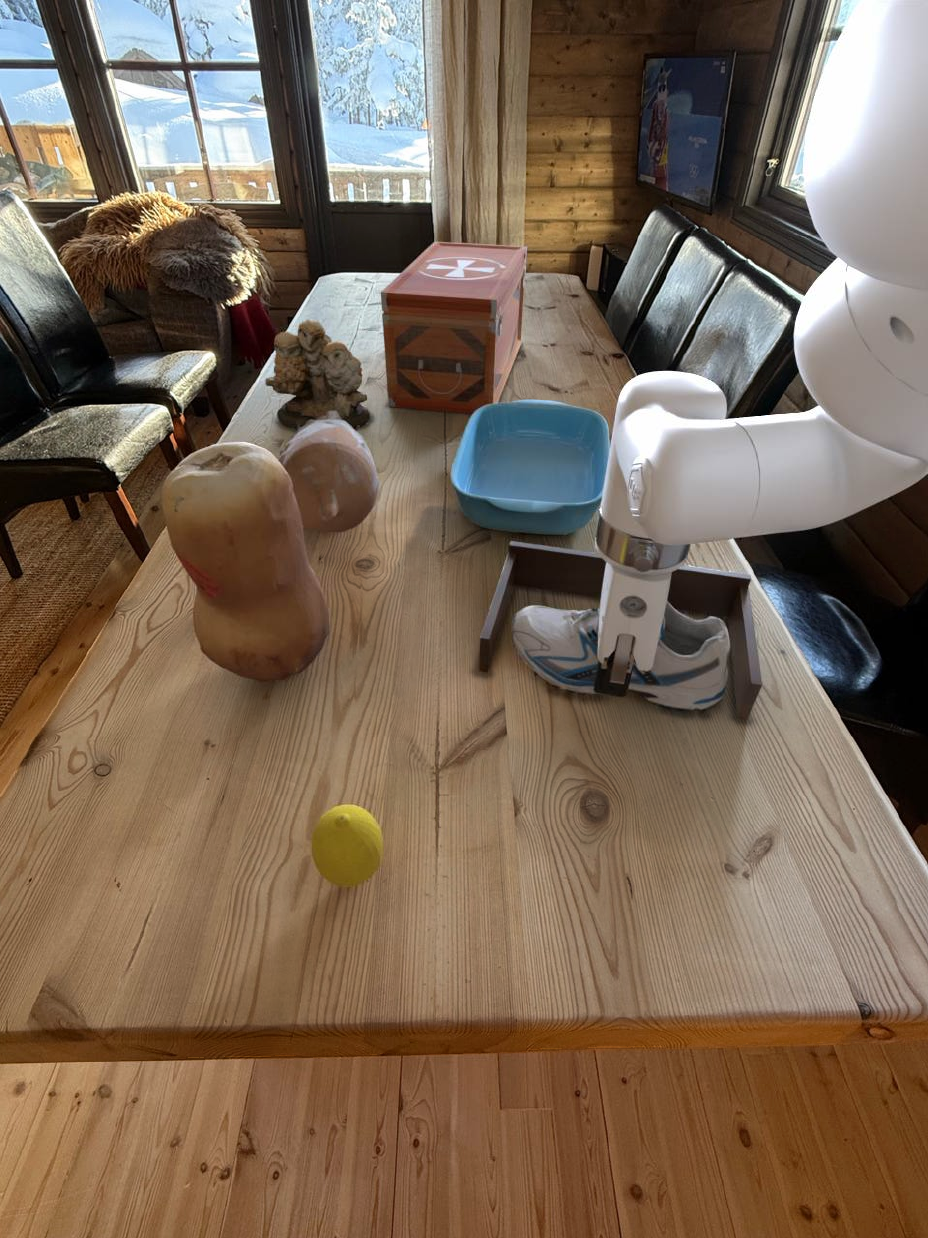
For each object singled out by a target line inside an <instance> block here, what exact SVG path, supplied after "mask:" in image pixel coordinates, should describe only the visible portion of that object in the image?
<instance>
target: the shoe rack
mask: <svg viewBox="0 0 928 1238" xmlns="http://www.w3.org/2000/svg"><path fill="white" fill-rule="evenodd" d="M503 564H504V565H503V567H502V571H501V572H500V577H499V580H498V583H497V585H496V588H495V592H494V595H493V597H492V600H491V604H490V606H489V609H488V612H487V616H486V619H485V621H484V625H483V628H482V630H481V633H480V636H479V654H478V655H479V656H478V657H479V659H478V672H480V673H485V674H488V673H489V670H490V667H491V663H492V660H493V657H494V655H495V651H496V647H497V644H498V640H499V638H500V634H501V630H502V627H503V625H504V620H505V617H506V614H507V611H508V607H509V605H510V601H511V598H512V594H513V591H514V587H515V586H517V587H522V588H530V589H537V590H544V591H548V592H550V591H551V592H555V593H556V592H557V593H562V594H563V593H564V594H569V595H576V596H583V597H590V598H594V599H595V598H596V599H601V594H602V587H603V580H604V573H605V567H606V561H605V560H603V559H602V558H601V557H600V555H599V554H598V552H593V551H585V550H579V549H571V548H566V547H565V548H564V547H557V546H550V545H542V544H536V543H529V542H522V541H515V540H510V541H509V544H508V553H507V555H506V558H505V562H504V563H503ZM751 582H752V577H751V574H750V573H742V572H734V571H728V570H721V569H713V568H706V567H699V566H692V565H685V564H683V565H682V566H681V567H680V568H679V569H677V570H675V571H672V574H671V581H670V587H669V593H668V598H667V601H668V602H669V603H670V604H671V606H672V607H673V608H675V609H676V610H677V611H679V612H680V611H681V612H688V613H694V614H701V615H708V616H712V617H721V618H727V620H728V621H727V622H728V630H729V631H728V633H729V640H730V654H731V663H732V673H733V683H734V696H735V705H736V716H737V718H739V719H744V720H748V719H749V717H750V714H751V712H752V710H753V707H754V705H755V703H756V700H757V698H758V696H759V693H760V692H761V689H762V687H763V681H762V673H761V667H760V660H759V652H758V644H757V638H756V630H755V622H754V615H753V608H752V602H751V593H750V587H749V586H750V584H751Z"/></svg>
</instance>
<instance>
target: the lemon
mask: <svg viewBox="0 0 928 1238" xmlns="http://www.w3.org/2000/svg"><path fill="white" fill-rule="evenodd" d="M383 856H384V839H383V834H382V830H381V827H380V826H379V823H378V822H377V820H376V819H375V818H374V816H373V815H372V814H371V813H370V812H369V811H368V810H367V809H365V808H363V807H361V806H358V805H355V804H341V805H337V806H335V807H332V808H330V809H329V810H328V811H326V812H324V814H323V815H322V816H321V817H320V818H319V819H318V822H317V823H316V825H315V827H314V830H313V833H312V837H311V857H312V860H313V863H314V866H315V868H316V870H317V871H318V873H319V874H320V875H321V877H323V879H324V880H326V881H327V882H328V883H329V884H332V885H334V886H337V887H342V888H352V887H356V886H359V885H362V884H364V883H365V882H366V881H368V880H370V879H371V877H373V875H374V874H375V873H376V872H377V870H378V869H379V867H380V865H381V861H382V859H383Z"/></svg>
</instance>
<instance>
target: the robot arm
mask: <svg viewBox="0 0 928 1238" xmlns="http://www.w3.org/2000/svg"><path fill="white" fill-rule="evenodd" d="M804 141H805V143H804V153H803V163H802V174H803V186H804V196H805V197H804V198H805V202H806V205H807V208H808V211H809V215H810V217H811V221H812V224H813V228H814V229H815V231H816V232H817V234H818V236H819V237H820V238H821V240H822V242H823V243H824V245H825V246H826V247H827V249H828V250H829V252H830V253H832V254H833V255H834V256H835V257H836V259H834V260H833V262H832V263H831V264H830V265H829V266H828V267H827V268H826V269H825V270H824V271H823V272H822V273H821V274H820V275H819V276H818V277H817V279H816V280H815V281H814V282H813V283H812V285H811V286H810V288H809V289H808V291H807V292H806V294H805V295H804V297H803V299H802V302H801V304H800V306H799V310H798V312H797V315H796V319H795V322H794V329H793V351H794V356H795V362H796V367H797V369H798V371H799V374H800V377H801V379H802V381H803V384H804V385H805V387H806V389H807V390H808V392H809V394H810V396H811V397H812V399H814V401H815V402H816V404H817V406H815V407H814V408H811V409H810V410H807V411H804V412H799V413H785V414H784V413H783V414H782V413H781V414H770V415H761V416H748V417H739V418H727V414H728V413H727V412H728V403H727V397H726V395H725V393H724V392H723V390H722V389H721V388H720V387H719V385H717V384H716V383H715V382H713V381H711V380H709V379H708V378H705V377H702V376H700V375H696V374H693V373H689V372H682V371H673V370H662V371H660V370H659V371H651V372H645V373H642V374H639V375H637V376H635V377H634V378H631V380H629V381H628V382H626V384H625V385H624V387H622V389H621V392H620V394H619V396H618V399H617V405H616V409H615V415H614V421H613V428H612V433H611V441H610V444H609V448H610V452H609V458H608V464H607V470H606V477H605V483H604V489H603V495H602V501H601V503H600V507H599V508H600V509H599V515H598V521H597V527H596V534H595V538H594V548H595V551H596V553H598V554H599V555H600V557H601V558H602V559H603V560H605V561H606V567H605V573H604V580H603V587H602V594H601V598H600V604H599V608H600V615H599V631H598V654H597V658H598V666H597V671H596V676H595V684H594V692H596V693H600V694H604V695H606V696H611V697H612V696H613V697H618V698H626V697H627V695H628V692H629V689H628V688H629V684H630V680H631V675H632V671H633V662H634V659H635V661H636V665H637V668H638V670H643V671H649V670H650V669H651V668H652V667H653V663H654V658H655V654H656V649H657V644H658V640H659V635H660V631H661V627H662V622H663V618H664V613H665V608H666V603H667V598H668V593H669V587H670V581H671V574H672V571H675V570H677V569H679V568H680V567H681V566H682V565H685V563H686V562H687V559H688V557H689V553H690V549H691V545H694V544H696V545H697V544H702V543H703V544H704V543H711V542H719V541H720V542H721V541H729V540H732V539H739V538H747V537H755V536H763V535H771V534H772V535H773V534H781V533H792V532H800V531H807V530H813V529H816V528H821V527H824V526H827V525H830V524H833V523H836V522H839V521H841V520H844V519H847V518H848V517H850V516H853V515H855V514H857V513H859V512H861V511H863V510H865V509H867V508H869V507H872V506H874V505H876V504H878V503H881V502H882V501H884V500H886V499H889V498H890V497H893V496H895V495H896V494H898V493H899V494H900V492H902V491H904V490H906V489H908V488H910V487H911V486H913V485H914V484H916V483H918V482H920V480H922V479H923V478H924V477H926V476H927V475H928V0H859V2H858V4H857V5H856V7H855V8H854V10H853V11H852V13H851V15H850V17H849V18H848V21H847V22H846V23H845V26H844V28H843V30H842V32H841V34H840V35H839V37H838V40H837V41H836V43H835V45H834V47H833V49H832V51H831V53H830V55H829V57H828V60H827V63H826V65H825V68H824V71H823V74H822V76H821V79H820V81H819V84H818V87H817V89H816V92H815V95H814V99H813V103H812V107H811V111H810V115H809V120H808V123H807V127H806V132H805V139H804Z"/></svg>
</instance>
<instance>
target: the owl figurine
mask: <svg viewBox="0 0 928 1238" xmlns="http://www.w3.org/2000/svg"><path fill="white" fill-rule="evenodd" d="M273 342H274V343H273V346H274V351H275V355H274V356H275V357H274V361H273V363H274V366H273V373H274V375H273V376H269V377H265V381H264V382H265V386H267V387H272V390H273V391H274V392H276V393H277V394H281V395H291V396H293V397H292V398H291V399H289V400H287V401H285V403H284V404H282V405H281V407H279V409H278V410H277V412H276V416H277V420H278V422H279V424H281V425H282V426H283V427H285V428H288V429H293V430H295V431H298V430H299V429H300V428H301V427H303V426H304V425H305V424H306V422H307V421H309V420H311V419H312V420H316V419H318V418H319V417H321V416H324V415H326V414H327V412H328V411H337V412H338V414H339V416H340V418H341V419H343V420H344V421H346V422H347V423H348V424H349V425H350V426H352V428H353V429H354V430H356V429H358V427H359V428H363V427H365V426H366V425H367V424H368V423H369V422H370V420H371V413H370V411H369V410H368V408H366V407H364V405H362V403H365V402H366V401H367V400H368V395H367V394H366V393H365V392H361V391H359V390H358V389H359V388H360V387H361V385H362V383H363V373H362V372H363V368H362V367H361V366H362V362H361V361H360V359H358V358H357V357H355V356H354V355H353V354H352V352H351V350H349V348H348V347H347V346H346V344H344V343H343V342H341V341H333V340H332V337H331V336H330V335H328V334H326V330H325V328H324V326H323V325H322V324H320V322H319V321H317V320H315V319H312V318H308V319H305V320H303V321H301V322H300V323H299V325H298V327H297V334H295V333H292V332H290V331H282V332H280V333H278V334H276V335H275V337H274V341H273Z"/></svg>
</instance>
